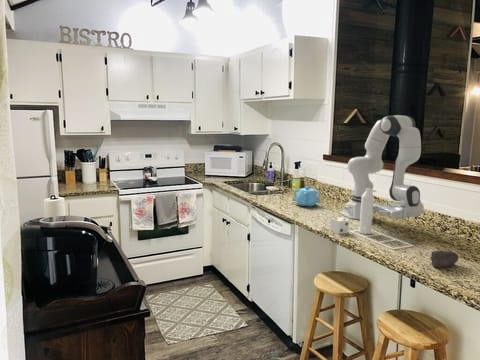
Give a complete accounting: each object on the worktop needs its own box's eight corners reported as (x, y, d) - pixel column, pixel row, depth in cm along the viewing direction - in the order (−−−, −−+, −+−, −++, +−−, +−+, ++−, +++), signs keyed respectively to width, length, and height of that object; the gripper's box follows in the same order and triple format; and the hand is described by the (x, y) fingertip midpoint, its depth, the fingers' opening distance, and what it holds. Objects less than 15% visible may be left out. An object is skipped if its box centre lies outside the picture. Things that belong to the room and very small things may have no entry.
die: (330, 230, 213) (331, 218, 212) (340, 229, 216) (341, 216, 215) (338, 234, 207) (339, 221, 206) (348, 232, 210) (349, 220, 208)
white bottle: (356, 231, 212) (359, 187, 208) (365, 230, 214) (369, 186, 210) (366, 236, 204) (370, 190, 200) (376, 235, 206) (380, 189, 202)
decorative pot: (322, 207, 270) (323, 188, 267) (302, 208, 264) (303, 189, 262) (310, 202, 285) (311, 184, 282) (291, 203, 279) (292, 185, 277)
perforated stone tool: (452, 262, 169) (454, 247, 168) (462, 266, 164) (464, 251, 163) (425, 265, 165) (426, 250, 164) (434, 270, 160) (436, 254, 159)
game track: (349, 231, 211) (349, 231, 211) (368, 229, 217) (368, 228, 217) (393, 249, 183) (393, 249, 183) (414, 246, 189) (414, 245, 189)
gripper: (384, 200, 221) (363, 201, 218) (408, 208, 202) (386, 209, 198) (383, 211, 222) (362, 211, 219) (407, 220, 203) (385, 221, 199)
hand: (374, 211), depth 208 cm, fingers open, 8 cm apart
